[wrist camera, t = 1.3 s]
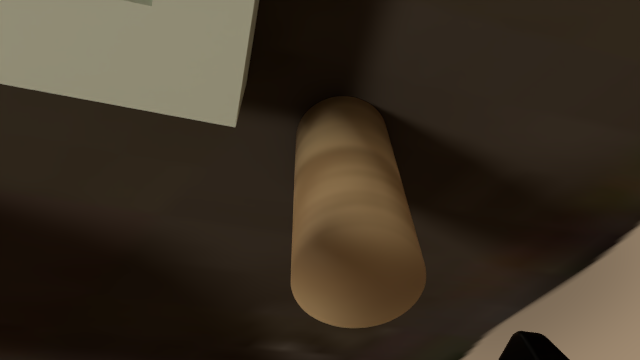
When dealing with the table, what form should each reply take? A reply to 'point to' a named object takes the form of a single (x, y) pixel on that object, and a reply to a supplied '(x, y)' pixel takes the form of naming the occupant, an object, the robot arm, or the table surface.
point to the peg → (351, 219)
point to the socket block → (133, 52)
